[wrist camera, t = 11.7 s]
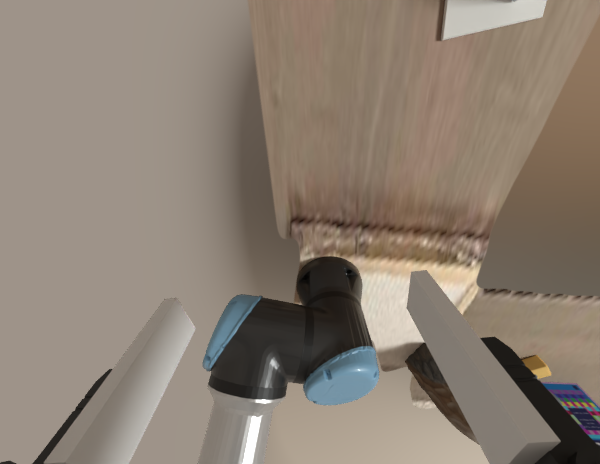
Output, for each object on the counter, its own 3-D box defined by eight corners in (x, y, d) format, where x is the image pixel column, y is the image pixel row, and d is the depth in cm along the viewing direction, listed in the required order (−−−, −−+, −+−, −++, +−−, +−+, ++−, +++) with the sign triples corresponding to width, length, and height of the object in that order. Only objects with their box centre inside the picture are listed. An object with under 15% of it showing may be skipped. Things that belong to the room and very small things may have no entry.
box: (513, 394, 77) (574, 476, 60) (528, 381, 73) (598, 466, 55) (559, 395, 77) (632, 478, 60) (576, 383, 73) (661, 469, 56)
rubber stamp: (505, 372, 70) (540, 418, 60) (501, 365, 68) (536, 411, 58) (540, 362, 67) (583, 409, 57) (536, 354, 65) (580, 401, 54)
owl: (425, 338, 62) (473, 428, 44) (463, 346, 63) (523, 436, 46) (403, 361, 68) (437, 448, 51) (437, 368, 69) (482, 454, 52)
